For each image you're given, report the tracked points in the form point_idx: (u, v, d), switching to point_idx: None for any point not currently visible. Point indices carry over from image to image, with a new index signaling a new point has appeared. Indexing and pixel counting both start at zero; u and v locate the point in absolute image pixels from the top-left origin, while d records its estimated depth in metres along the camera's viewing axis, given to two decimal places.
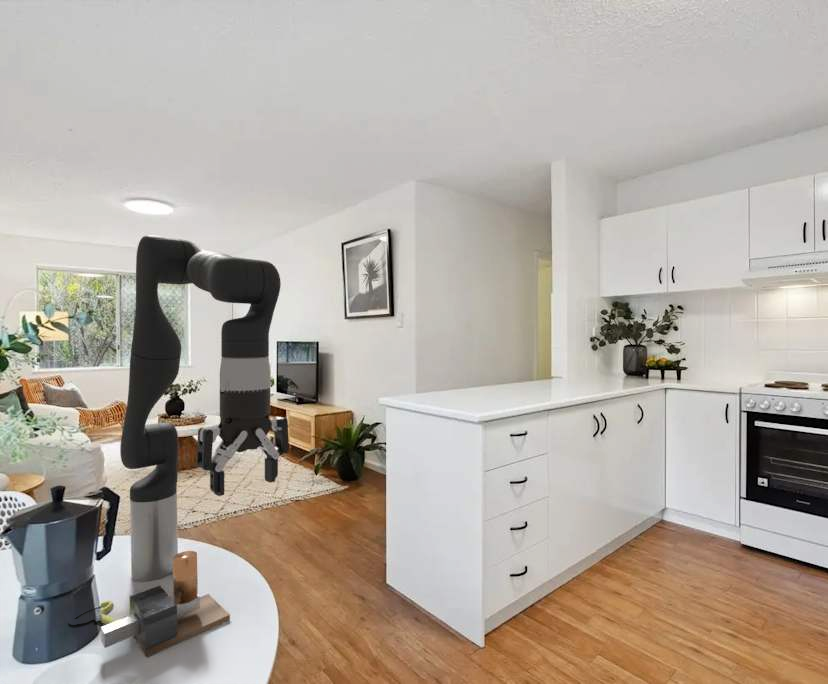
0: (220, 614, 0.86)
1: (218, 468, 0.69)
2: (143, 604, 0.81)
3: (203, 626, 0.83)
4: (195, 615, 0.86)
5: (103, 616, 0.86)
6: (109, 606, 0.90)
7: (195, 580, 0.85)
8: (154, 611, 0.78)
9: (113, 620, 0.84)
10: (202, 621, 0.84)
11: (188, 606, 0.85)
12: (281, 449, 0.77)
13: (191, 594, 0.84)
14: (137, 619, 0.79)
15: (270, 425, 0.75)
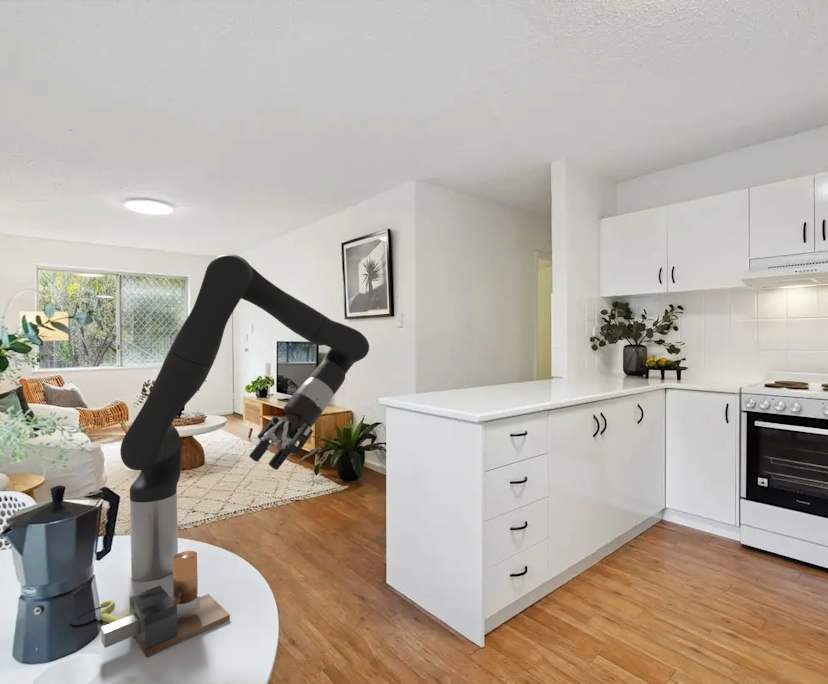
0: (220, 614, 0.86)
1: (291, 453, 0.95)
2: (143, 604, 0.81)
3: (203, 626, 0.83)
4: (195, 615, 0.86)
5: (106, 615, 0.86)
6: (111, 606, 0.90)
7: (195, 580, 0.85)
8: (154, 611, 0.78)
9: (117, 619, 0.84)
10: (202, 621, 0.84)
11: (188, 606, 0.85)
12: None
13: (191, 594, 0.84)
14: (137, 619, 0.79)
15: None
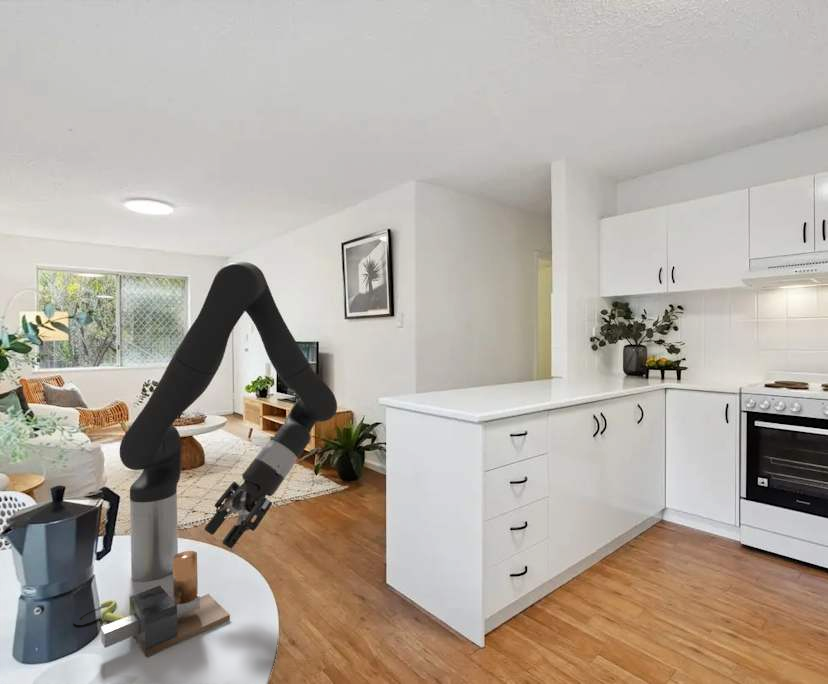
0: (220, 614, 0.86)
1: None
2: (143, 604, 0.81)
3: (203, 626, 0.83)
4: (195, 615, 0.86)
5: (110, 614, 0.86)
6: (113, 605, 0.90)
7: (195, 580, 0.85)
8: (154, 611, 0.78)
9: (123, 617, 0.85)
10: (202, 621, 0.84)
11: (188, 606, 0.85)
12: (224, 509, 0.97)
13: (191, 594, 0.84)
14: (137, 619, 0.79)
15: None
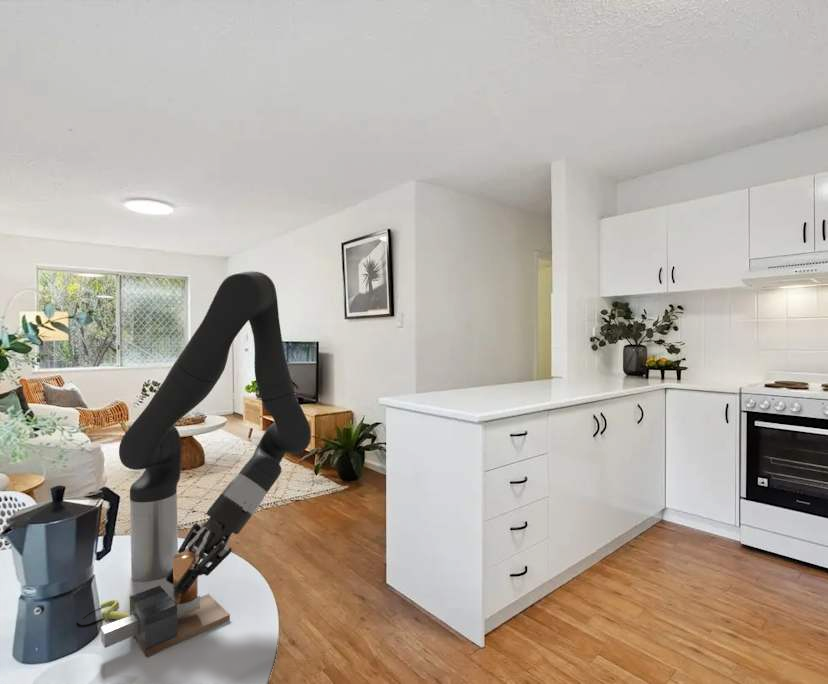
0: (220, 614, 0.86)
1: None
2: (143, 604, 0.81)
3: (203, 626, 0.83)
4: (195, 615, 0.86)
5: (115, 613, 0.87)
6: (116, 604, 0.90)
7: (195, 580, 0.85)
8: (154, 611, 0.78)
9: (129, 614, 0.86)
10: (202, 621, 0.84)
11: (188, 606, 0.85)
12: None
13: (191, 594, 0.84)
14: (137, 619, 0.79)
15: None
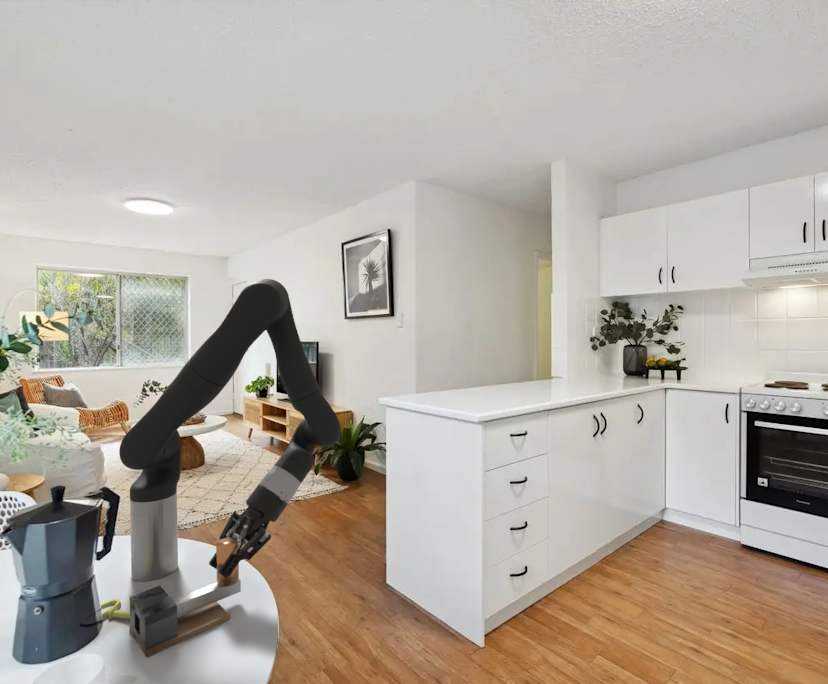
0: (220, 614, 0.86)
1: None
2: (143, 604, 0.81)
3: (203, 626, 0.83)
4: (195, 615, 0.86)
5: (120, 611, 0.87)
6: (118, 603, 0.91)
7: None
8: (154, 611, 0.78)
9: None
10: (202, 621, 0.84)
11: (230, 589, 0.90)
12: None
13: (233, 578, 0.90)
14: (186, 600, 0.85)
15: None
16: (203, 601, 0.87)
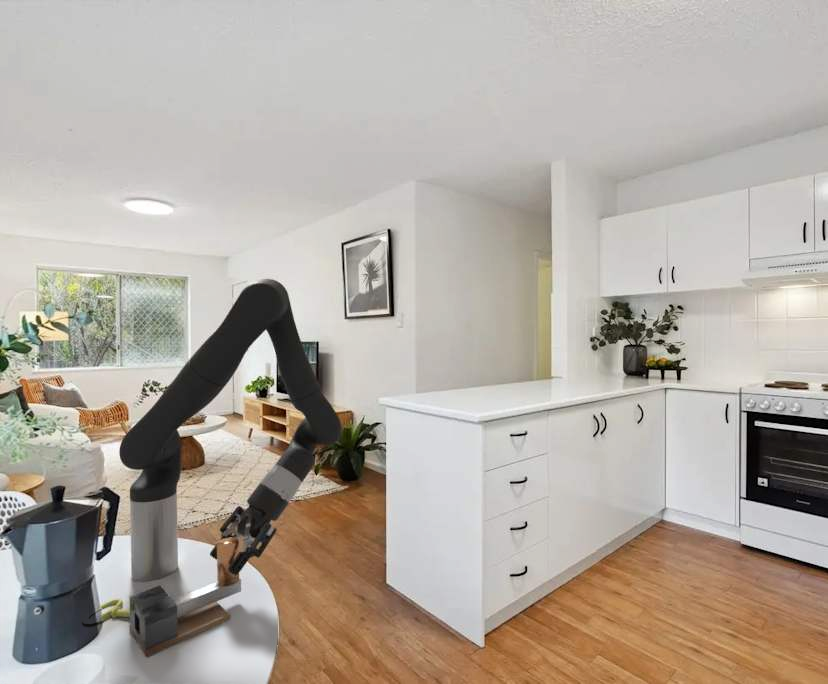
0: (220, 614, 0.86)
1: None
2: (143, 604, 0.81)
3: (203, 626, 0.83)
4: (195, 615, 0.86)
5: (123, 610, 0.88)
6: (120, 603, 0.91)
7: None
8: (154, 611, 0.78)
9: None
10: (202, 621, 0.84)
11: (231, 589, 0.90)
12: (229, 533, 0.97)
13: (234, 577, 0.90)
14: (186, 600, 0.85)
15: None
16: (204, 601, 0.87)
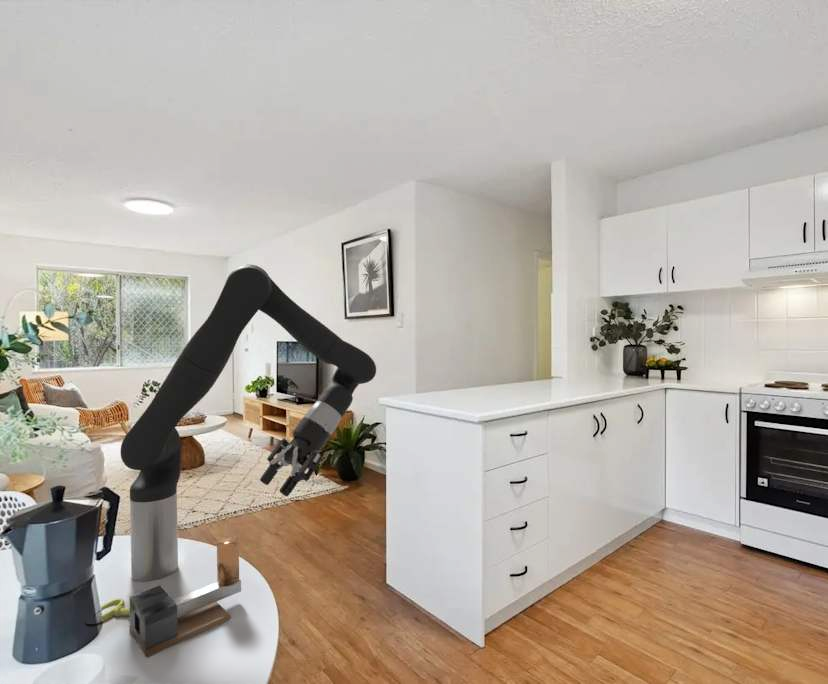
0: (220, 614, 0.86)
1: None
2: (143, 604, 0.81)
3: (203, 626, 0.83)
4: (195, 615, 0.86)
5: (127, 609, 0.88)
6: (123, 602, 0.91)
7: (237, 564, 0.91)
8: (154, 611, 0.78)
9: None
10: (202, 621, 0.84)
11: (231, 589, 0.90)
12: None
13: (234, 577, 0.90)
14: (186, 600, 0.85)
15: None
16: (204, 601, 0.87)
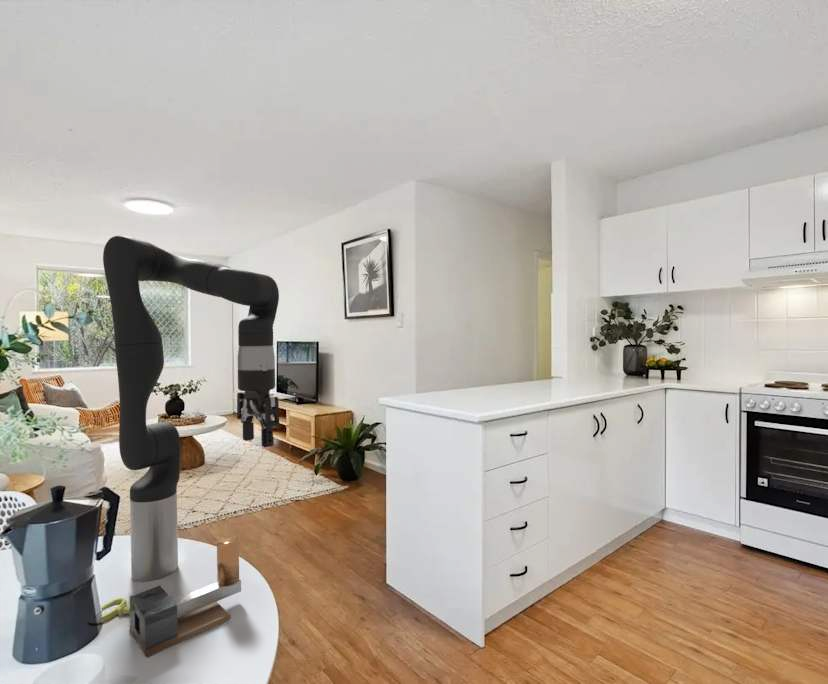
0: (220, 614, 0.86)
1: None
2: (143, 604, 0.81)
3: (203, 626, 0.83)
4: (195, 615, 0.86)
5: None
6: (125, 601, 0.91)
7: (237, 564, 0.91)
8: (154, 611, 0.78)
9: None
10: (202, 621, 0.84)
11: (231, 589, 0.90)
12: None
13: (234, 577, 0.90)
14: (186, 600, 0.85)
15: None
16: (204, 601, 0.87)
